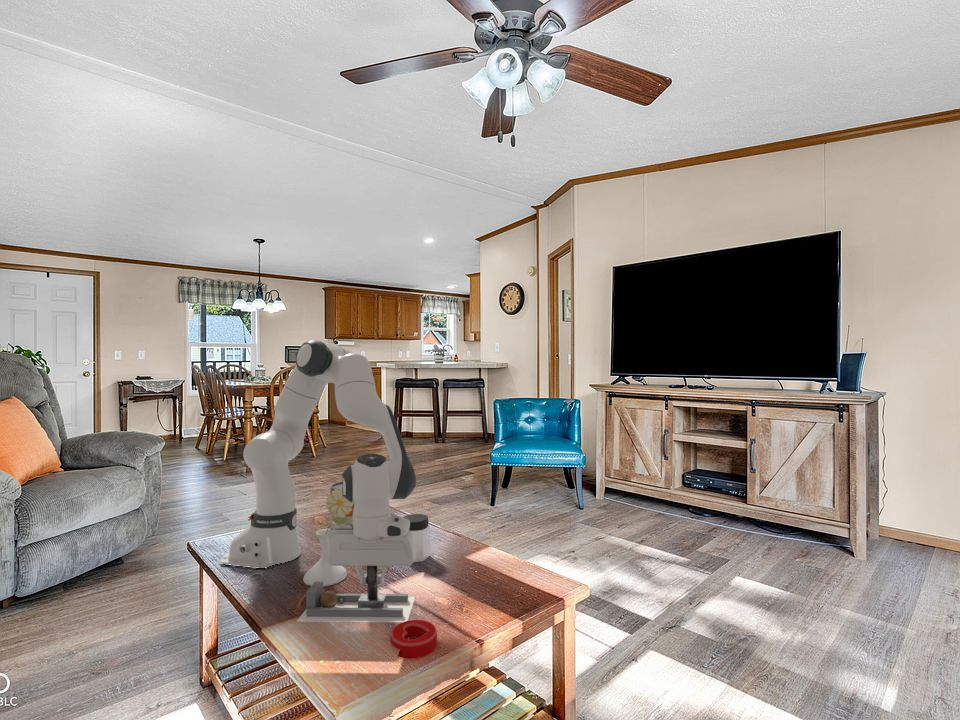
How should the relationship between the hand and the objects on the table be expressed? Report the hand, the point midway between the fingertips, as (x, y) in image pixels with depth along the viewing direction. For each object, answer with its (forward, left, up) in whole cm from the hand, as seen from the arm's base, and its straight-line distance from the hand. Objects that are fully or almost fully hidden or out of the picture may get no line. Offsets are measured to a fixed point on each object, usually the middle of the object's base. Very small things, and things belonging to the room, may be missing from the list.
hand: (372, 583), depth 115 cm
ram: (0, 0, -6) cm, 6 cm away
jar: (+5, +34, -8) cm, 35 cm away
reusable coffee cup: (-24, +62, -8) cm, 67 cm away
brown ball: (-10, 0, -6) cm, 12 cm away
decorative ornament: (+12, -12, -8) cm, 19 cm away
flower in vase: (-16, +17, -8) cm, 25 cm away
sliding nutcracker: (-3, 0, -8) cm, 8 cm away
